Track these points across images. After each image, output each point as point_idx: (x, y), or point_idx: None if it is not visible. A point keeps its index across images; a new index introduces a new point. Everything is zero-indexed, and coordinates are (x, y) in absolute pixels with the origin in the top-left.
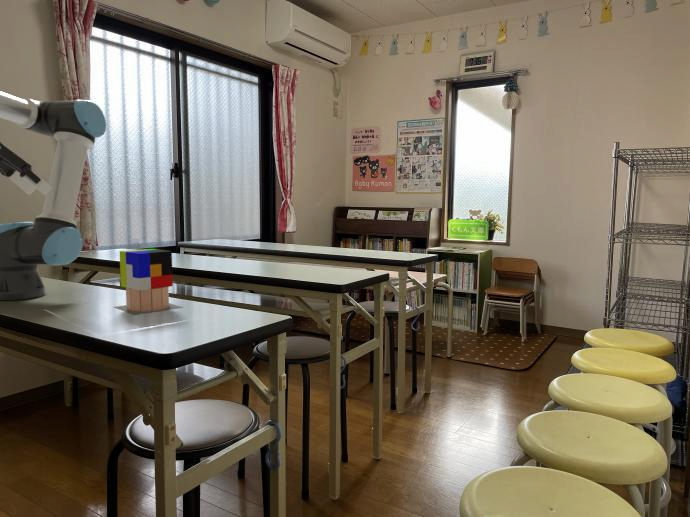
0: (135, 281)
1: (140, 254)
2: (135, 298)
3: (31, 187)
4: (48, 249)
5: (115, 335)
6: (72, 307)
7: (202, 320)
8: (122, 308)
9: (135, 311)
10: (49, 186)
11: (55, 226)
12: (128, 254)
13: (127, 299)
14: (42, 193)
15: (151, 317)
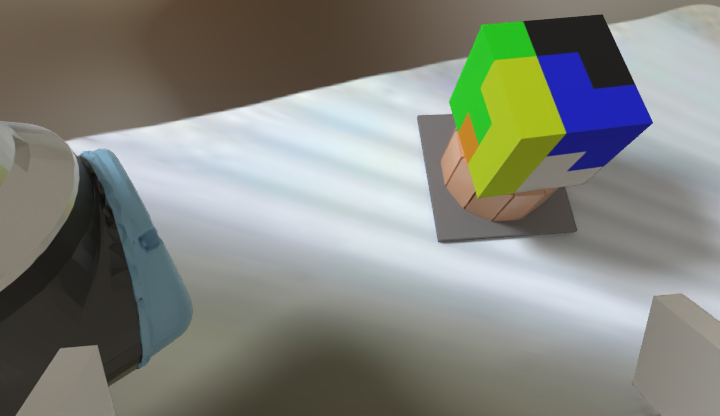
0: (576, 174)
1: (647, 117)
2: (545, 197)
3: (84, 412)
4: (171, 340)
5: None
6: (345, 329)
7: (680, 132)
8: (475, 226)
9: (534, 214)
10: (700, 320)
11: (88, 259)
12: (583, 135)
13: (509, 209)
14: (654, 398)
15: (598, 203)
